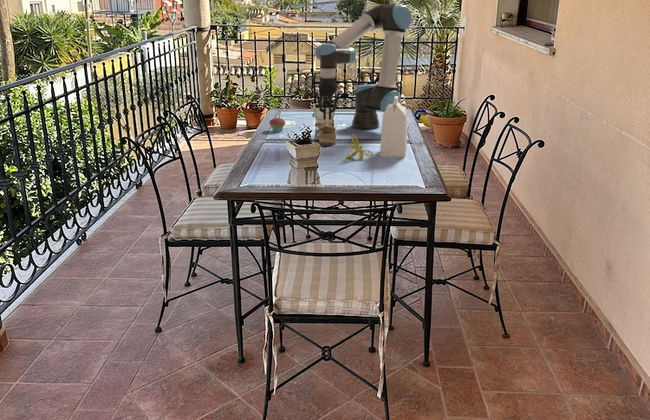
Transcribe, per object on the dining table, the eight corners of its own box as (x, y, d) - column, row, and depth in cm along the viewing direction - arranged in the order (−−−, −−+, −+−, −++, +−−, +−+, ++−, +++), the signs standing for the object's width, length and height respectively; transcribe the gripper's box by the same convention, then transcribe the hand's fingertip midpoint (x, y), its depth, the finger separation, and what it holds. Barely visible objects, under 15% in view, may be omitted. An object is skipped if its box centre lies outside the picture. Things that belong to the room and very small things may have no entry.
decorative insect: (359, 168, 262) (374, 154, 258) (357, 170, 259) (372, 155, 255) (339, 148, 262) (353, 133, 257) (337, 150, 259) (352, 135, 254)
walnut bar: (323, 126, 295) (323, 119, 293) (331, 126, 295) (332, 119, 293) (322, 135, 285) (322, 127, 283) (331, 135, 285) (332, 127, 283)
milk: (404, 157, 262) (408, 99, 253) (379, 155, 264) (382, 98, 255) (406, 150, 273) (410, 95, 264) (382, 149, 275) (384, 94, 266)
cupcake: (286, 129, 313) (286, 107, 308) (284, 133, 305) (283, 110, 301) (271, 129, 313) (270, 107, 309) (268, 132, 306) (267, 110, 301)
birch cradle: (319, 136, 299) (319, 126, 297) (335, 136, 299) (335, 126, 297) (319, 144, 283) (319, 134, 281) (335, 144, 283) (335, 134, 281)
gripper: (314, 78, 272) (313, 127, 280) (341, 78, 272) (340, 127, 280) (314, 76, 279) (314, 124, 287) (341, 76, 279) (340, 124, 287)
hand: (327, 126), depth 284 cm, fingers closed
